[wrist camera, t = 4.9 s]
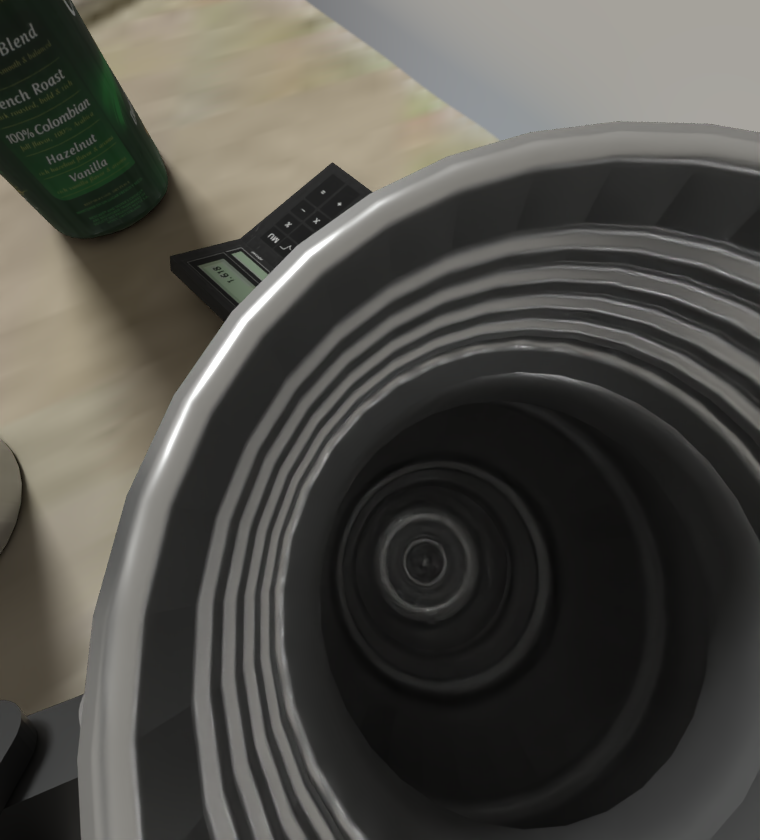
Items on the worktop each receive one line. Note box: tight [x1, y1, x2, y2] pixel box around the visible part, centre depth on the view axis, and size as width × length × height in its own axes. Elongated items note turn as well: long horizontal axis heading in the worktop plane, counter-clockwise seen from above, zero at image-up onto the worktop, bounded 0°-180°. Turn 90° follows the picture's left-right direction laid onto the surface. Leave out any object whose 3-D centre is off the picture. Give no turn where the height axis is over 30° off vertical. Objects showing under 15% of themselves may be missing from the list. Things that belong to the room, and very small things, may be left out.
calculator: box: [170, 162, 373, 322], centre depth 24 cm, size 9×12×3 cm
